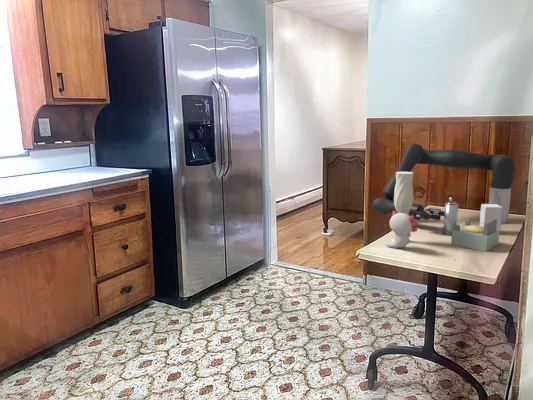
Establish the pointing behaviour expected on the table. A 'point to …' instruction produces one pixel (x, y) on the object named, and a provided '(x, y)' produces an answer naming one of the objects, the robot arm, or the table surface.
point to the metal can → (450, 217)
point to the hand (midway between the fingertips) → (444, 216)
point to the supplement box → (491, 214)
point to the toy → (401, 229)
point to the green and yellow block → (476, 235)
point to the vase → (403, 192)
